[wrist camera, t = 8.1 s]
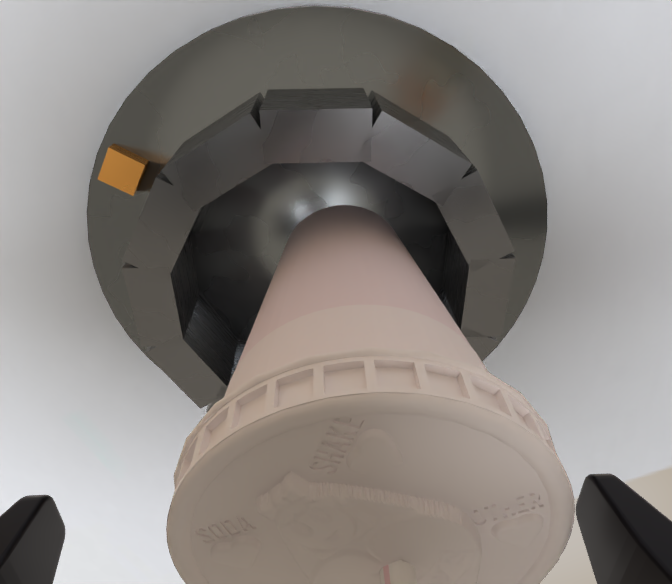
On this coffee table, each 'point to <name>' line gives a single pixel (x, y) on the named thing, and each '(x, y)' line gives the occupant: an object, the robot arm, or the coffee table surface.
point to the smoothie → (365, 437)
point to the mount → (307, 179)
